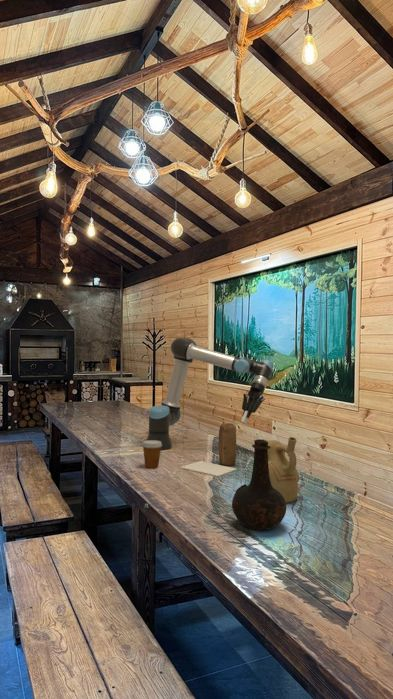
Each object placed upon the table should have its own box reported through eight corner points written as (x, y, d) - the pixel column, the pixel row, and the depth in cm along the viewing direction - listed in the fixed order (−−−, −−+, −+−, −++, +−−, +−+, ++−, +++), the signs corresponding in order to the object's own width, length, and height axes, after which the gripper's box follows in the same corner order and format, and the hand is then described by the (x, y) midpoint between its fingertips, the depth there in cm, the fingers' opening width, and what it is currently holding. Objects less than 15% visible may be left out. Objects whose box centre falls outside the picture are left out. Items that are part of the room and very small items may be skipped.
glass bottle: (250, 511, 161) (252, 432, 161) (295, 524, 150) (297, 440, 150) (220, 525, 147) (222, 439, 147) (268, 541, 136) (270, 448, 136)
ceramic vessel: (284, 488, 188) (285, 428, 188) (312, 504, 170) (314, 437, 170) (247, 492, 182) (249, 430, 182) (273, 509, 164) (274, 440, 163)
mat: (180, 468, 216) (180, 467, 216) (200, 462, 229) (200, 460, 229) (218, 477, 203) (218, 475, 203) (237, 469, 215) (237, 468, 215)
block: (236, 466, 221) (237, 425, 221) (221, 467, 220) (222, 426, 220) (231, 461, 232) (231, 422, 232) (216, 461, 231) (217, 422, 231)
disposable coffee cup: (160, 469, 213) (161, 444, 212) (140, 469, 213) (141, 443, 213) (162, 464, 222) (163, 440, 222) (143, 464, 222) (143, 439, 222)
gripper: (246, 380, 251) (230, 417, 241) (266, 382, 243) (250, 421, 233) (251, 387, 256) (236, 424, 246) (271, 390, 248) (256, 428, 238)
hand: (243, 422), depth 239 cm, fingers closed
